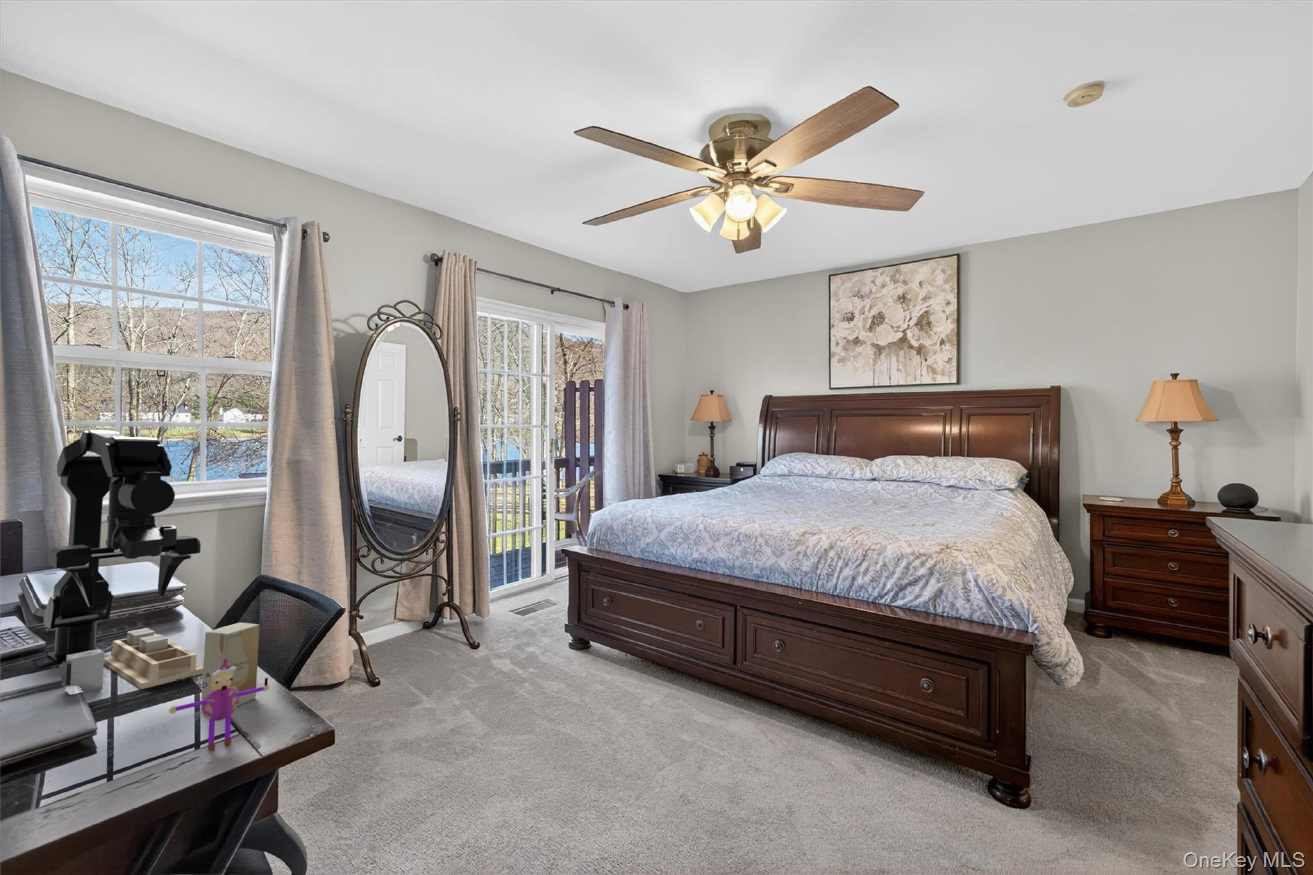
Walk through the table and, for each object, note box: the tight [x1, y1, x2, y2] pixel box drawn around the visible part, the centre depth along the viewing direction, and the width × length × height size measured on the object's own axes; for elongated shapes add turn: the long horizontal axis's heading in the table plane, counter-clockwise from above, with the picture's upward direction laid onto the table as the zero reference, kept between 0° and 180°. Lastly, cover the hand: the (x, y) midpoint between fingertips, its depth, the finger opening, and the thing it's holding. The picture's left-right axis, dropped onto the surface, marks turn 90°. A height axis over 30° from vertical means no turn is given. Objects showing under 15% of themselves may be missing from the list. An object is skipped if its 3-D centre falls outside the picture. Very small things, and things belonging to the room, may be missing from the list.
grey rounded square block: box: [61, 648, 105, 693], centre depth 98 cm, size 4×3×6 cm, turn 147°
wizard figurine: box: [168, 658, 270, 751], centre depth 81 cm, size 11×3×12 cm, turn 136°
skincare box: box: [200, 622, 260, 711], centre depth 94 cm, size 6×4×12 cm
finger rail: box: [104, 627, 203, 690], centre depth 109 cm, size 21×9×6 cm, turn 57°
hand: (127, 601), depth 100 cm, fingers open, 9 cm apart
